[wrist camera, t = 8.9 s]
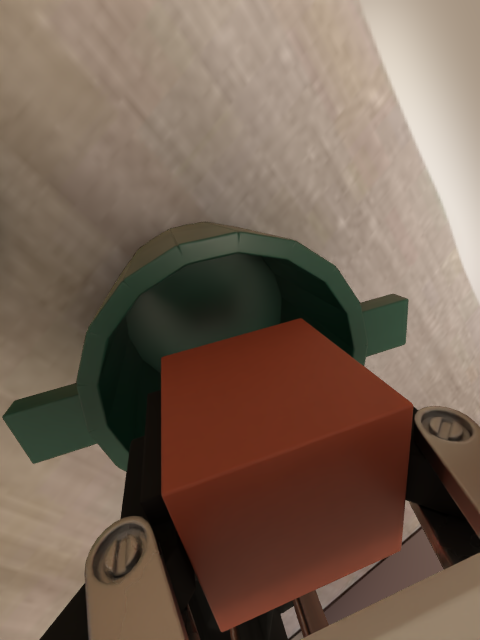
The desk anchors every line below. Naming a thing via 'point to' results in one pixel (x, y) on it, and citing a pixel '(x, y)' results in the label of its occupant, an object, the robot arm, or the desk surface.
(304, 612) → the letter holder
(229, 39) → the desk surface
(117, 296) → the pot
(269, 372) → the block
